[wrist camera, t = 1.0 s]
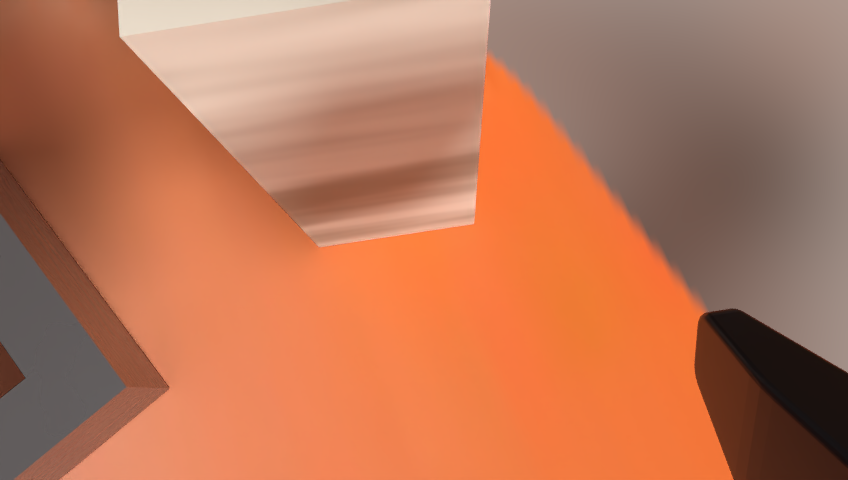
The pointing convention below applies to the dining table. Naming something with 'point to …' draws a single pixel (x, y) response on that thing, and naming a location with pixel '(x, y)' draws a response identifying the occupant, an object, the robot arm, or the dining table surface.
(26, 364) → the grey flat frame
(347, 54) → the square peg
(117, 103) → the dining table surface
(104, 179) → the dining table surface
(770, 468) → the robot arm
